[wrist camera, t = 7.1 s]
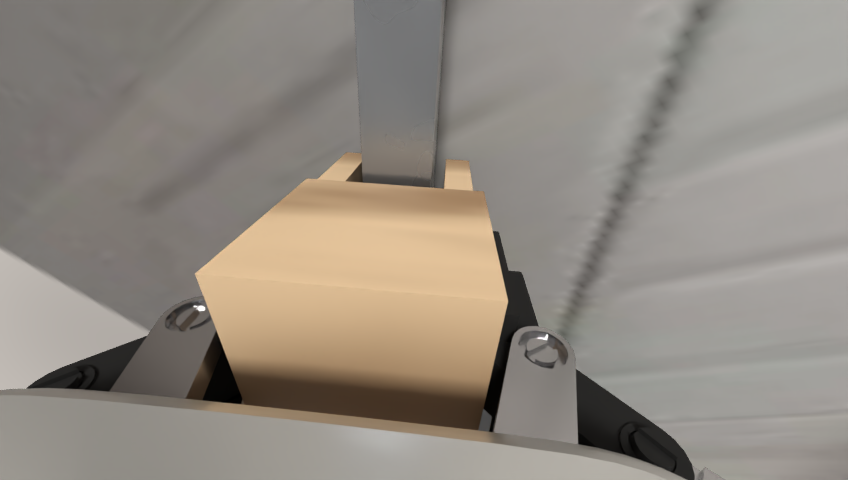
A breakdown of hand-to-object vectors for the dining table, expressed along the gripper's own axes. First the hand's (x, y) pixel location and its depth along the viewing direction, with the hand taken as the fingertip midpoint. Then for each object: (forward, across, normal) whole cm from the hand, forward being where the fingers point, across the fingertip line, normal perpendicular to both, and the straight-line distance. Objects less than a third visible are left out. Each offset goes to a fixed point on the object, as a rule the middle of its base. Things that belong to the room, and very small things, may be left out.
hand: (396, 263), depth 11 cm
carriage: (+3, 0, 0) cm, 3 cm away
